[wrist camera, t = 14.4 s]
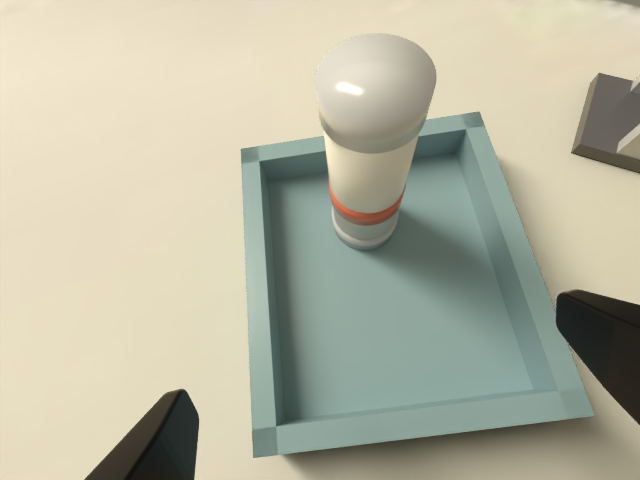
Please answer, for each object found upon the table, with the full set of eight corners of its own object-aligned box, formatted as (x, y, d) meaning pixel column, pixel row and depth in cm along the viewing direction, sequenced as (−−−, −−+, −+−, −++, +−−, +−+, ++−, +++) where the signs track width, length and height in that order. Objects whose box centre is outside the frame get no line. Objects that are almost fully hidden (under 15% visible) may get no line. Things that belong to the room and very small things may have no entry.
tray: (553, 409, 19) (595, 416, 16) (269, 444, 20) (253, 457, 16) (463, 144, 26) (479, 111, 23) (254, 176, 26) (240, 149, 23)
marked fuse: (408, 219, 23) (461, 69, 12) (366, 263, 22) (381, 145, 11) (361, 183, 24) (369, 18, 13) (320, 223, 23) (290, 82, 12)
